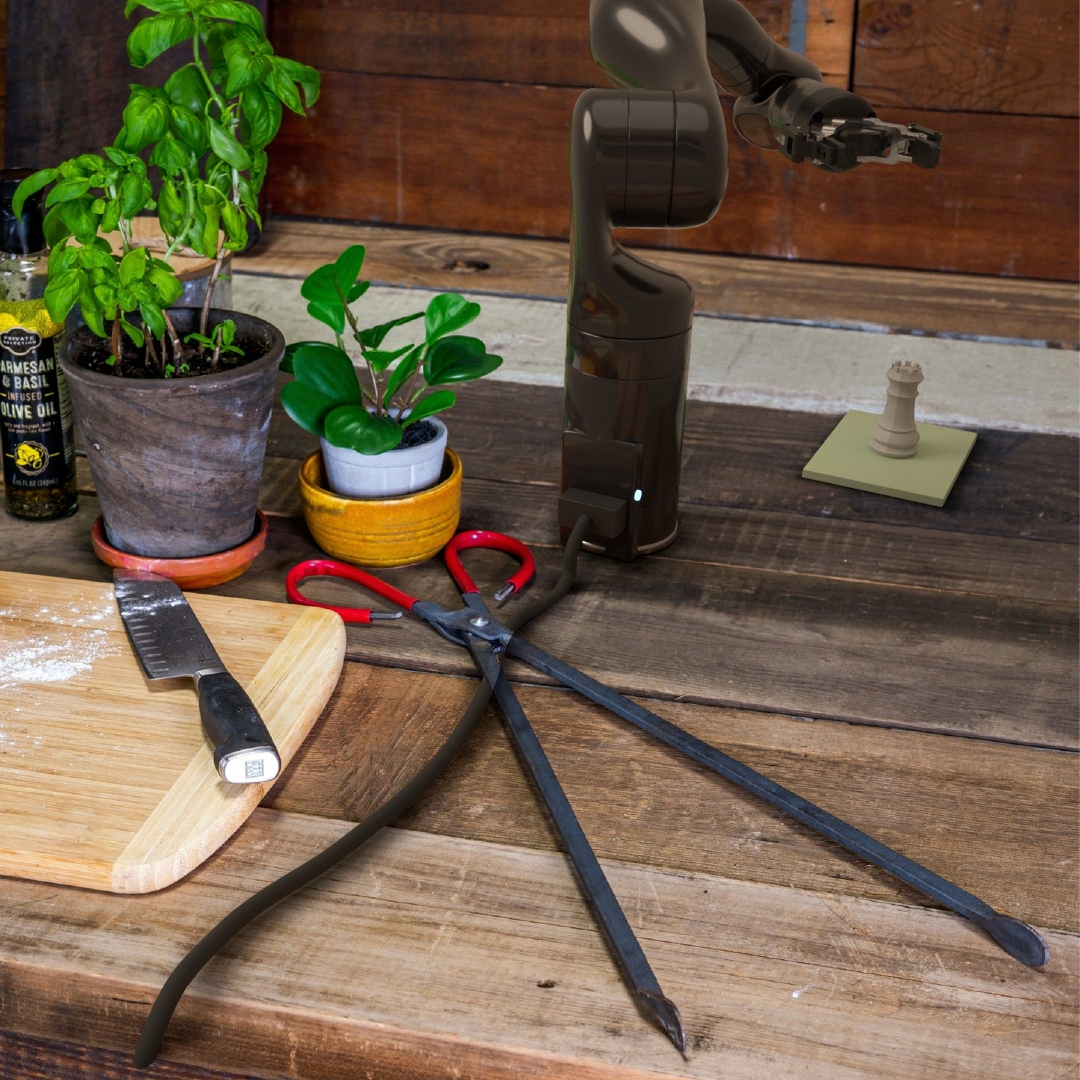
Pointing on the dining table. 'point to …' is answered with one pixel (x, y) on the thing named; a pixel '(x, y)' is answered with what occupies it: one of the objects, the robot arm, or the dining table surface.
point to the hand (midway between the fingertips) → (887, 158)
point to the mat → (892, 461)
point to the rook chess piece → (898, 413)
